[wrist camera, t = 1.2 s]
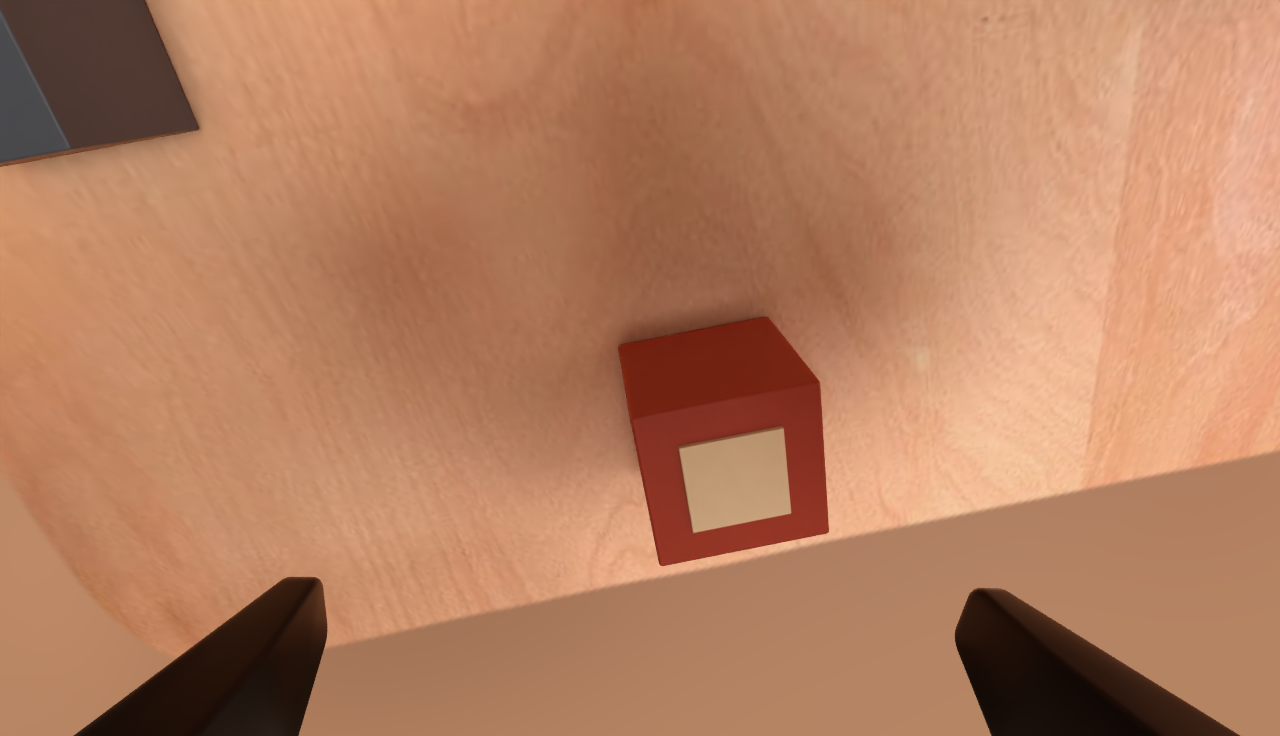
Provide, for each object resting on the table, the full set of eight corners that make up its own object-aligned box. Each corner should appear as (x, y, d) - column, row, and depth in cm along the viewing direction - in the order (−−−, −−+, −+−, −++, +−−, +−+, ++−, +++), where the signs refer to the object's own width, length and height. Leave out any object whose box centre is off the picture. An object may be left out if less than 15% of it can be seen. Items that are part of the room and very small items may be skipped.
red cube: (780, 444, 24) (831, 537, 19) (643, 471, 23) (660, 571, 19) (768, 315, 21) (822, 383, 17) (617, 344, 21) (630, 420, 17)
